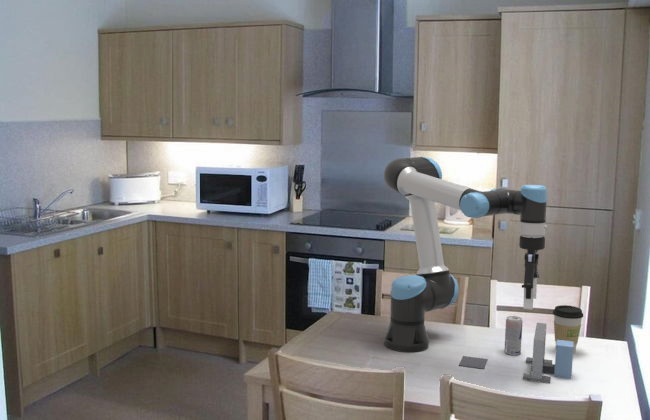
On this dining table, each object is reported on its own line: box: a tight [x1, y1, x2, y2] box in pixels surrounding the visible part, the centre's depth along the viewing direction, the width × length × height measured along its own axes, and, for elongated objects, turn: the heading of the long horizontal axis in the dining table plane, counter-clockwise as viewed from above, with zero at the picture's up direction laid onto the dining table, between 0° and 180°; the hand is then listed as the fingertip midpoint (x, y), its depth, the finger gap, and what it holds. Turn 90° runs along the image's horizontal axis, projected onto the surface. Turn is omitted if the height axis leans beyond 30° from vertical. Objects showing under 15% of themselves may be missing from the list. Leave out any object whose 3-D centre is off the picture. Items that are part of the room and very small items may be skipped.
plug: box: [530, 340, 574, 380], centre depth 222 cm, size 12×6×10 cm, turn 70°
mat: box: [458, 355, 489, 370], centre depth 231 cm, size 8×9×1 cm
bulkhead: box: [522, 322, 553, 384], centre depth 223 cm, size 8×18×13 cm, turn 161°
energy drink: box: [504, 315, 524, 356], centre depth 240 cm, size 5×5×12 cm
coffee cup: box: [552, 304, 584, 355], centre depth 241 cm, size 10×10×15 cm
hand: (529, 303), depth 222 cm, fingers open, 13 cm apart
